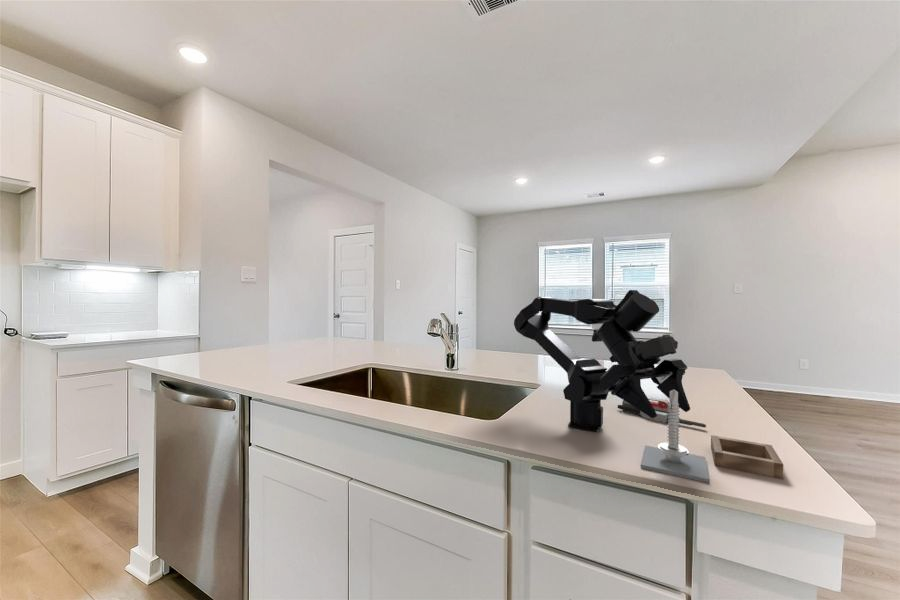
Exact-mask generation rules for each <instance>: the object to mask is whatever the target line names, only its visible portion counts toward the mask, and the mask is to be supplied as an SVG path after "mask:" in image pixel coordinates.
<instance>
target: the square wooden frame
mask: <svg viewBox="0 0 900 600" xmlns="http://www.w3.org/2000/svg"><path fill="white" fill-rule="evenodd" d="M710 449H711V454H712V455H711V456H712V458H713V459H712V460H713V463H714V466H717V467H722V468H726V469H730V470H731V469H732V470H736V471H739V472H740V471H741V472H746V473H751V474H757V475H761V476H767V477H772V478H777V479H782V480H783V479H784V463H783V461H782V460H781V458H780V457H779V455H778V453H777V451H776V450H775V449H774V447H773V445H772V444H768V443H760V442H754V441H750V440H749V441H748V440H742V439H736V438H730V437H725V436H718V435H713V434H712V435H710Z"/></svg>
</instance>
